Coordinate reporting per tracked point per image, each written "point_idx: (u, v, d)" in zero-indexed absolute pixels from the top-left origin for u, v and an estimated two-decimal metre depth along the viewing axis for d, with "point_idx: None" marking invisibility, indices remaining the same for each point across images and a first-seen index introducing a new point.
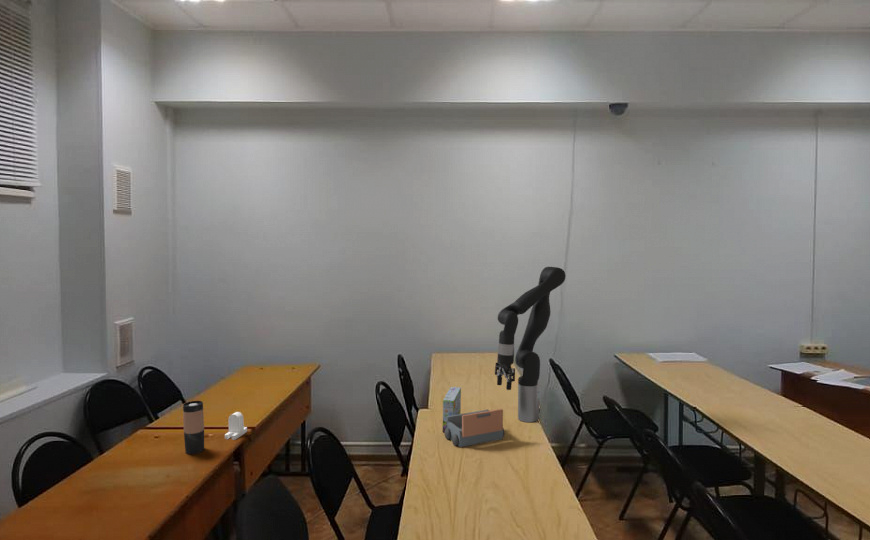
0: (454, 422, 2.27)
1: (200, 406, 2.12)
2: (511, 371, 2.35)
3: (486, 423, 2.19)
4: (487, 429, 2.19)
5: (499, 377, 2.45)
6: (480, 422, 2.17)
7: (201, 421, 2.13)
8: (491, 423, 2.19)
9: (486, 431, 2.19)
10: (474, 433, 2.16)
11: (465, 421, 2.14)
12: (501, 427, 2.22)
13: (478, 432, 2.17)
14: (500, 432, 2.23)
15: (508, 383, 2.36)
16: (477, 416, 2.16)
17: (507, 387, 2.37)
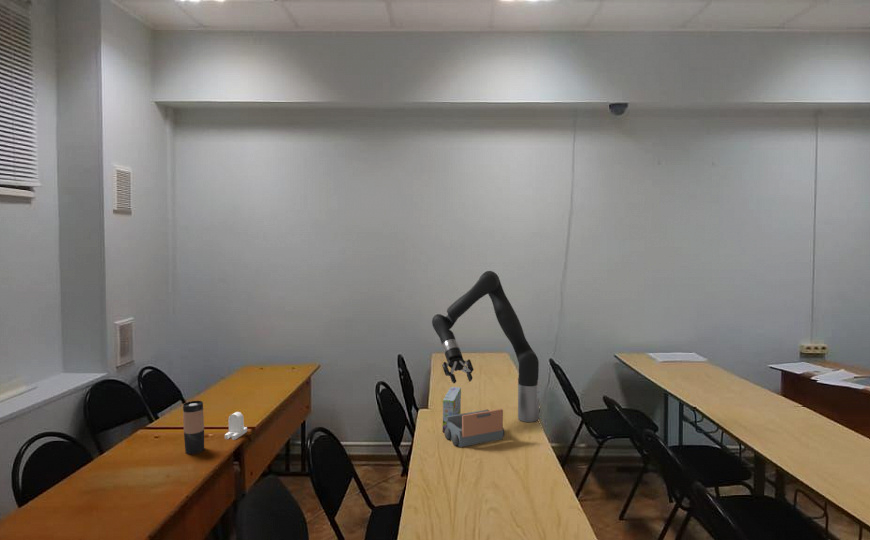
0: (454, 422, 2.27)
1: (200, 406, 2.12)
2: (443, 366, 2.37)
3: (486, 423, 2.19)
4: (487, 429, 2.19)
5: (467, 373, 2.38)
6: (480, 422, 2.17)
7: (201, 421, 2.13)
8: (491, 423, 2.19)
9: (486, 431, 2.19)
10: (474, 433, 2.16)
11: (465, 421, 2.14)
12: (501, 427, 2.22)
13: (478, 432, 2.17)
14: (500, 432, 2.23)
15: None
16: (477, 416, 2.16)
17: None
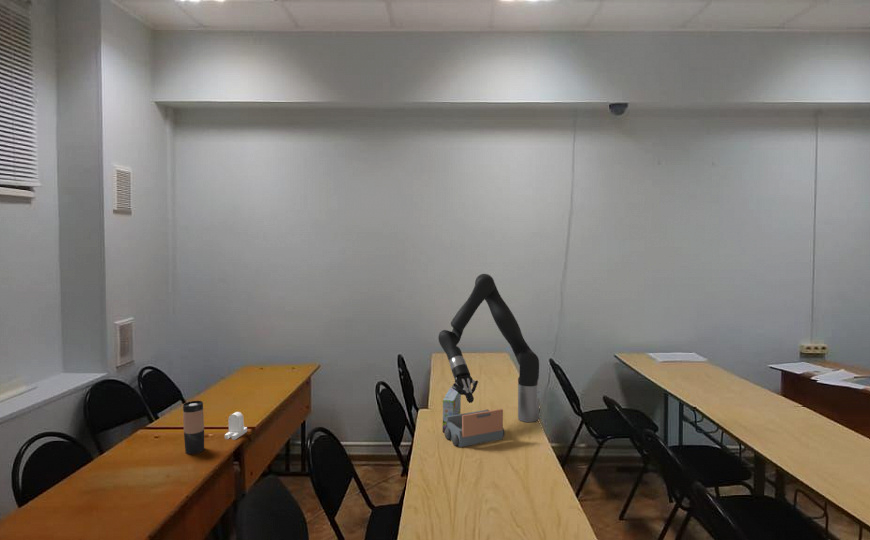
0: (454, 422, 2.27)
1: (200, 406, 2.12)
2: (454, 388, 2.30)
3: (486, 423, 2.19)
4: (487, 429, 2.19)
5: None
6: (480, 422, 2.17)
7: (201, 421, 2.13)
8: (491, 423, 2.19)
9: (486, 431, 2.19)
10: (474, 433, 2.16)
11: (465, 421, 2.14)
12: (501, 427, 2.22)
13: (478, 432, 2.17)
14: (500, 432, 2.23)
15: None
16: (477, 416, 2.16)
17: None
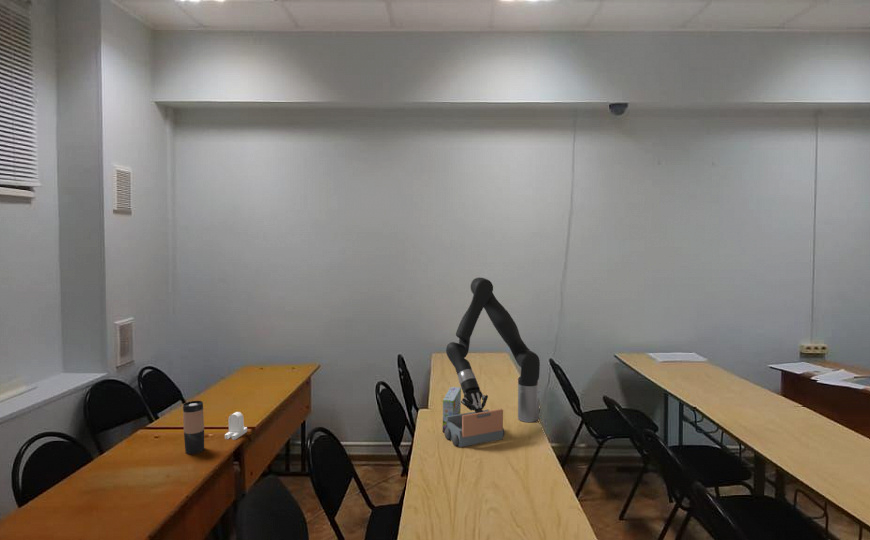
0: (454, 422, 2.27)
1: (200, 406, 2.12)
2: (463, 403, 2.22)
3: (487, 423, 2.19)
4: (487, 429, 2.19)
5: None
6: (480, 422, 2.17)
7: (201, 421, 2.13)
8: (491, 423, 2.19)
9: (486, 431, 2.19)
10: (474, 433, 2.16)
11: (465, 421, 2.14)
12: (501, 427, 2.22)
13: (478, 432, 2.17)
14: (500, 432, 2.23)
15: None
16: (477, 416, 2.16)
17: None
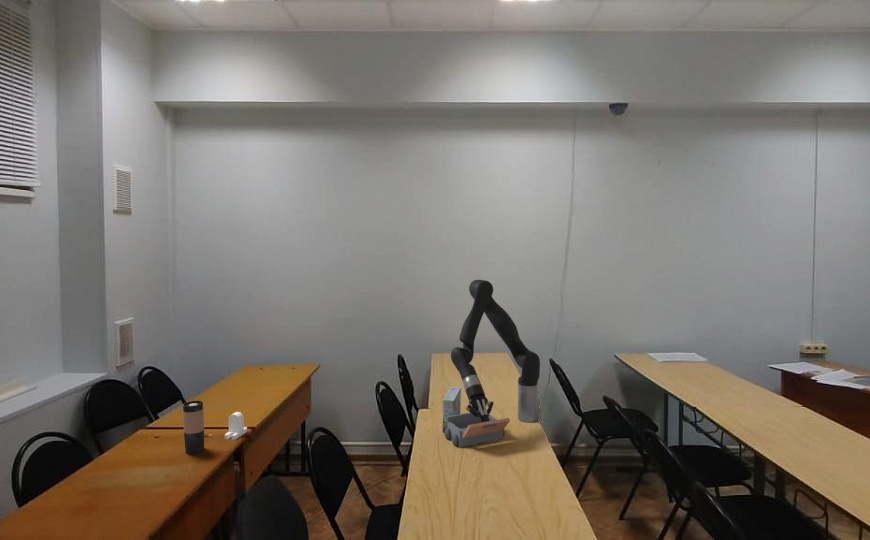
0: (454, 422, 2.27)
1: (200, 406, 2.12)
2: (468, 410, 2.18)
3: (490, 429, 2.16)
4: (488, 432, 2.18)
5: None
6: (484, 429, 2.14)
7: (201, 421, 2.13)
8: (494, 428, 2.17)
9: (486, 433, 2.19)
10: (474, 435, 2.16)
11: (470, 430, 2.11)
12: (502, 429, 2.21)
13: (478, 434, 2.17)
14: (500, 432, 2.23)
15: None
16: (483, 427, 2.12)
17: None
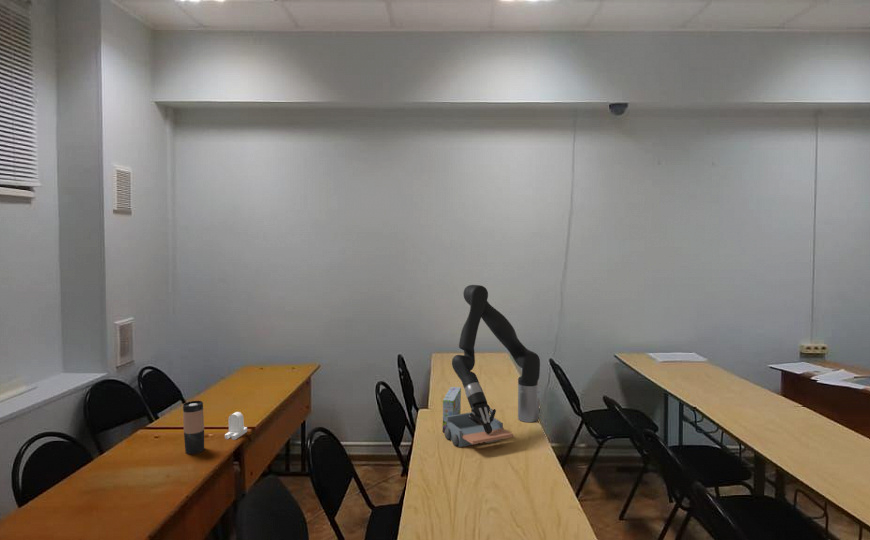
0: (454, 422, 2.27)
1: (200, 406, 2.12)
2: (470, 418, 2.16)
3: None
4: None
5: None
6: None
7: (201, 421, 2.13)
8: None
9: None
10: None
11: None
12: None
13: None
14: None
15: None
16: (485, 441, 2.10)
17: None
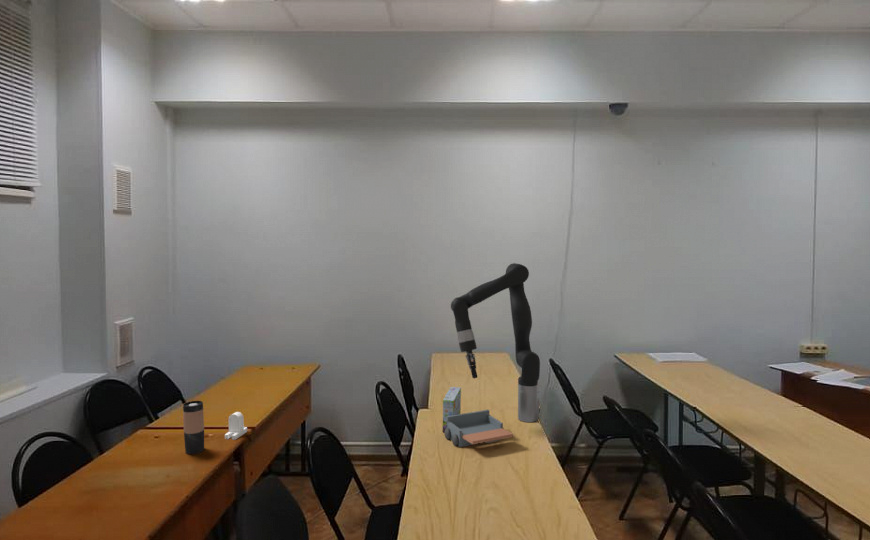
0: (454, 422, 2.27)
1: (200, 406, 2.12)
2: (470, 361, 2.29)
3: None
4: None
5: None
6: None
7: (201, 421, 2.13)
8: None
9: None
10: None
11: None
12: None
13: None
14: None
15: (472, 371, 2.33)
16: (485, 441, 2.10)
17: (472, 375, 2.33)
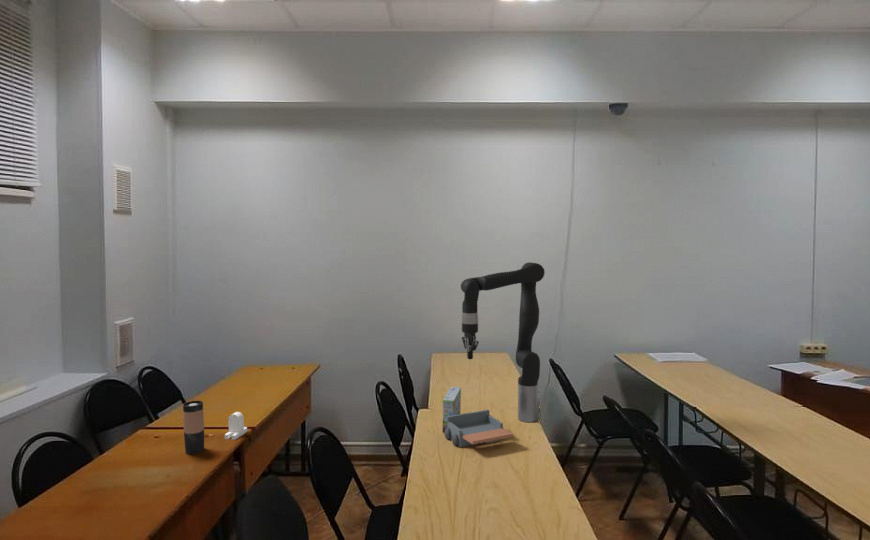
0: (454, 422, 2.27)
1: (200, 406, 2.12)
2: (474, 344, 2.34)
3: None
4: None
5: None
6: None
7: (201, 421, 2.13)
8: None
9: None
10: None
11: None
12: None
13: None
14: None
15: (469, 352, 2.39)
16: (485, 441, 2.10)
17: (469, 356, 2.39)
